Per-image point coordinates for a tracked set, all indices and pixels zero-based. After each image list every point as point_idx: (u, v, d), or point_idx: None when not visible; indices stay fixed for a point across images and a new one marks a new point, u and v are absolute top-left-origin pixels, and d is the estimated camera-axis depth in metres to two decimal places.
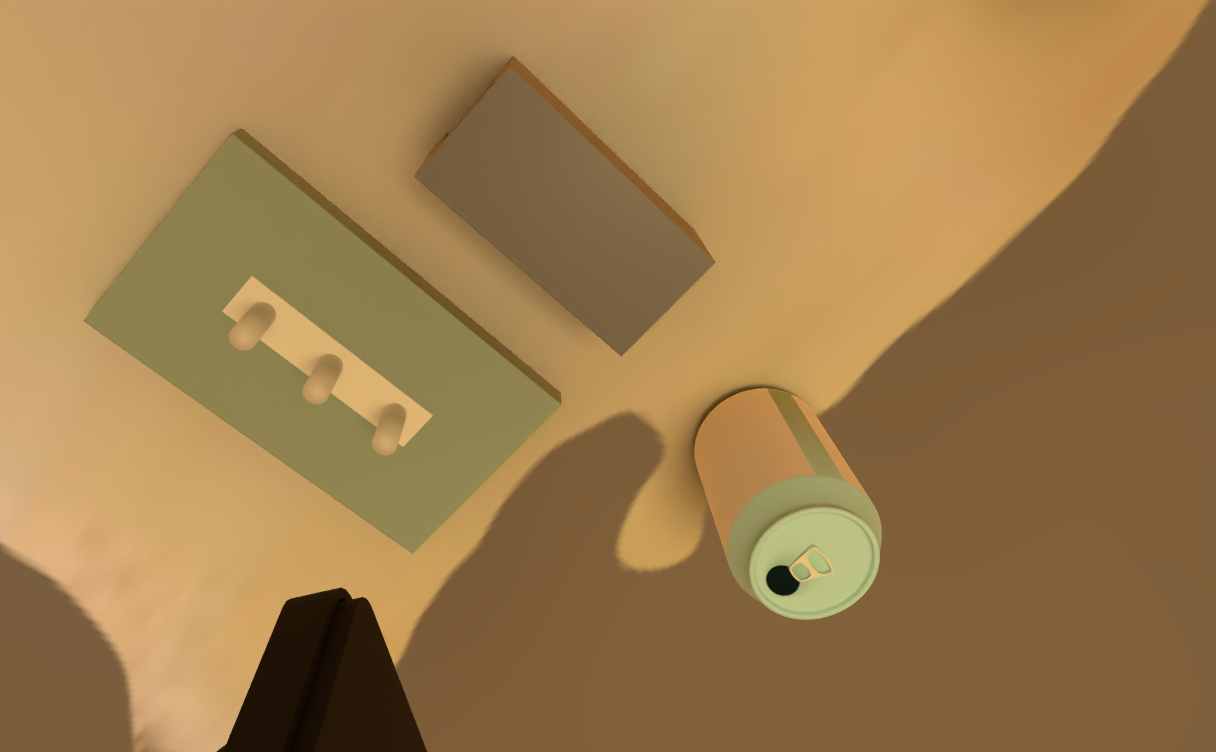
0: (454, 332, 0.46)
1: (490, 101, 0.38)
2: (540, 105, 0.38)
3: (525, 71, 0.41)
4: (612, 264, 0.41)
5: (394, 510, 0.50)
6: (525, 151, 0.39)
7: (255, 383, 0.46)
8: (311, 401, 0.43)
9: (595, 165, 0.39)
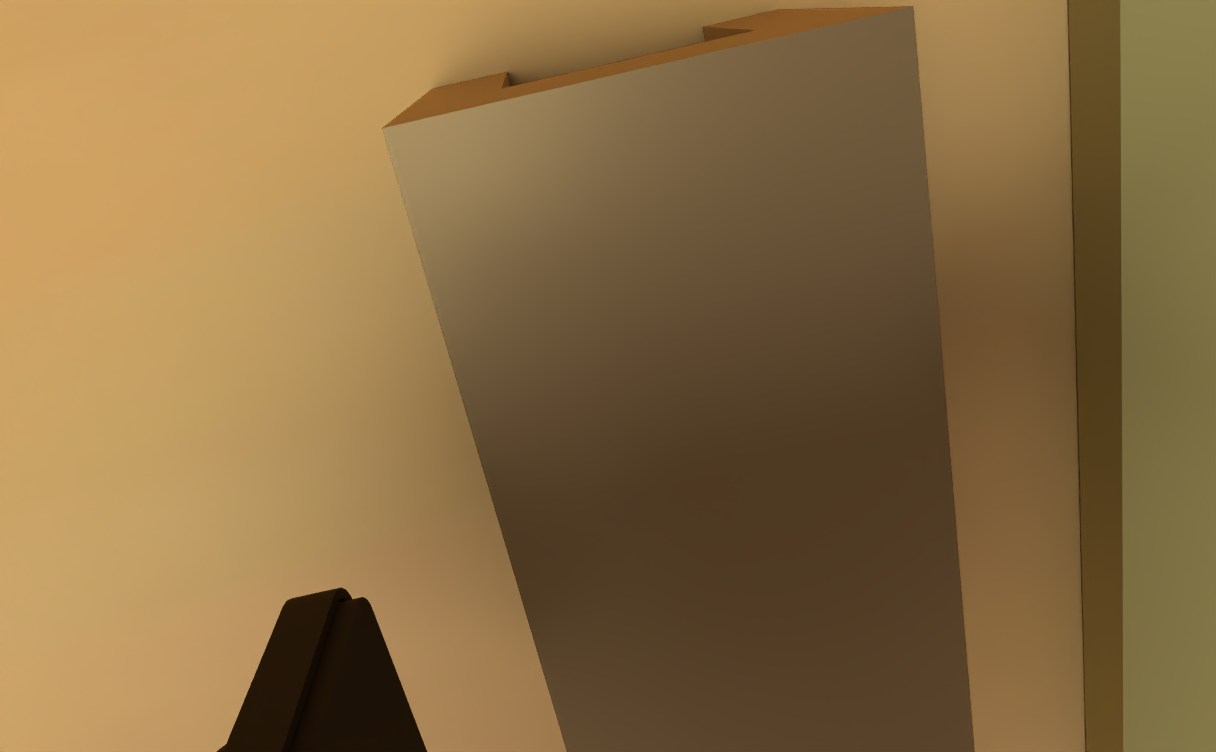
0: (1156, 270, 0.16)
1: None
2: None
3: None
4: (711, 339, 0.11)
5: None
6: (708, 731, 0.14)
7: None
8: None
9: (567, 618, 0.13)
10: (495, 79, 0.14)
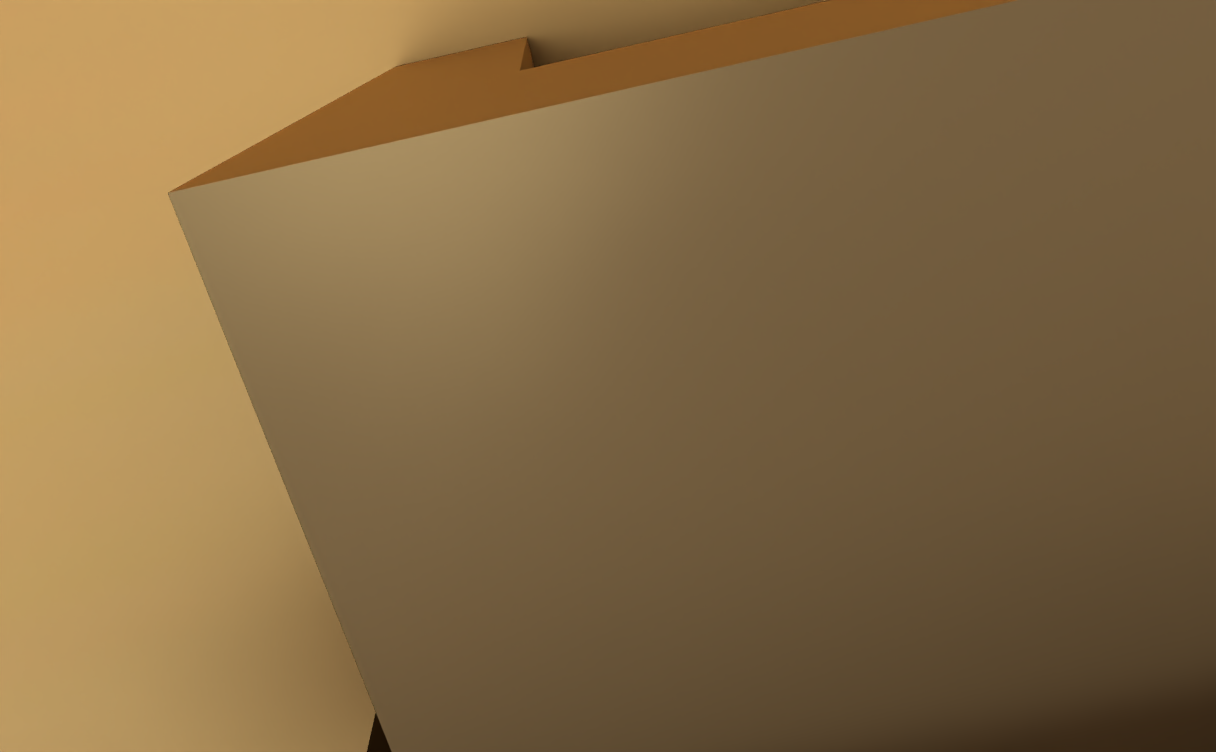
0: None
1: None
2: None
3: None
4: (1029, 694, 0.05)
5: None
6: None
7: None
8: None
9: None
10: (506, 50, 0.07)
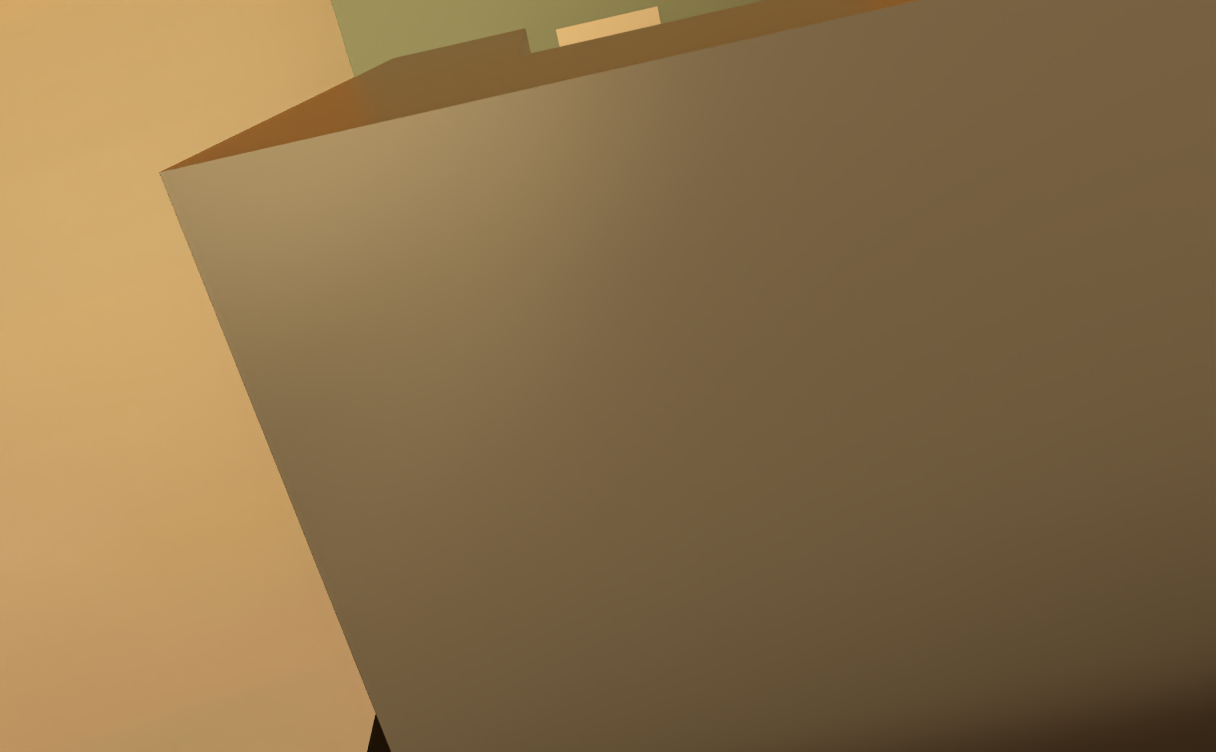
0: None
1: None
2: None
3: None
4: (1031, 684, 0.05)
5: None
6: None
7: None
8: None
9: None
10: (504, 40, 0.07)
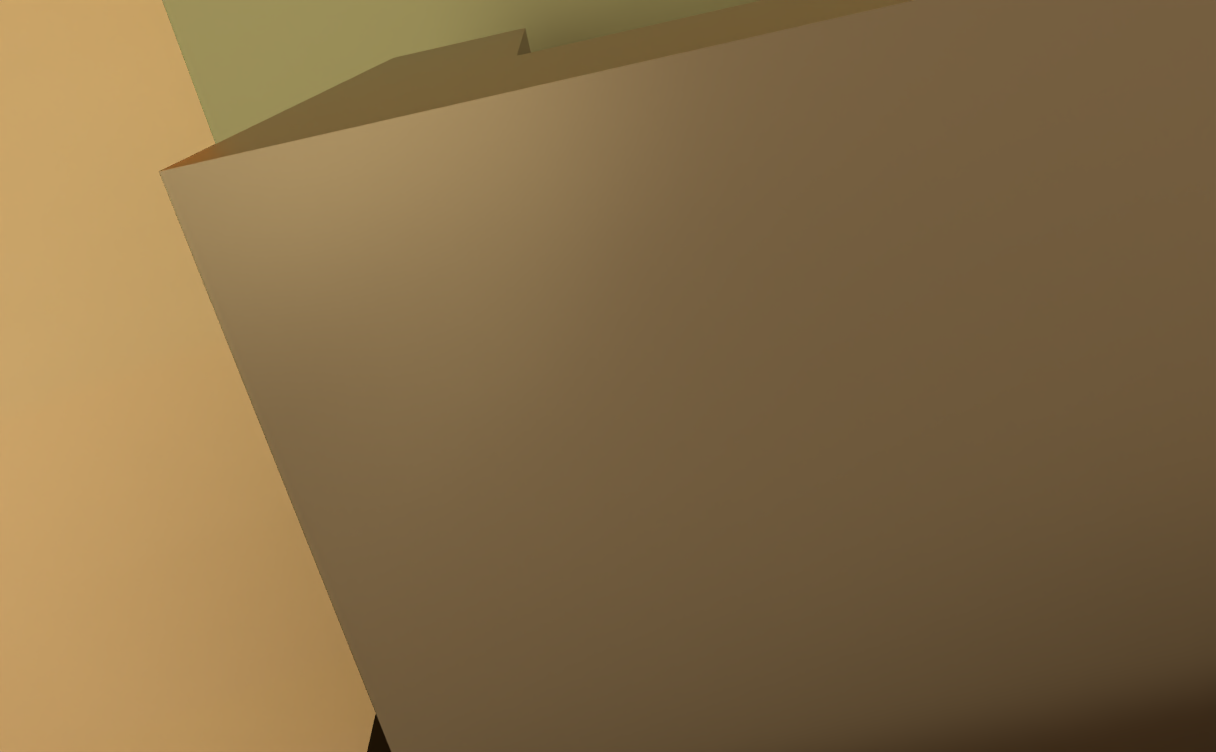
0: None
1: None
2: None
3: None
4: (1031, 682, 0.05)
5: None
6: None
7: None
8: None
9: None
10: (504, 39, 0.07)
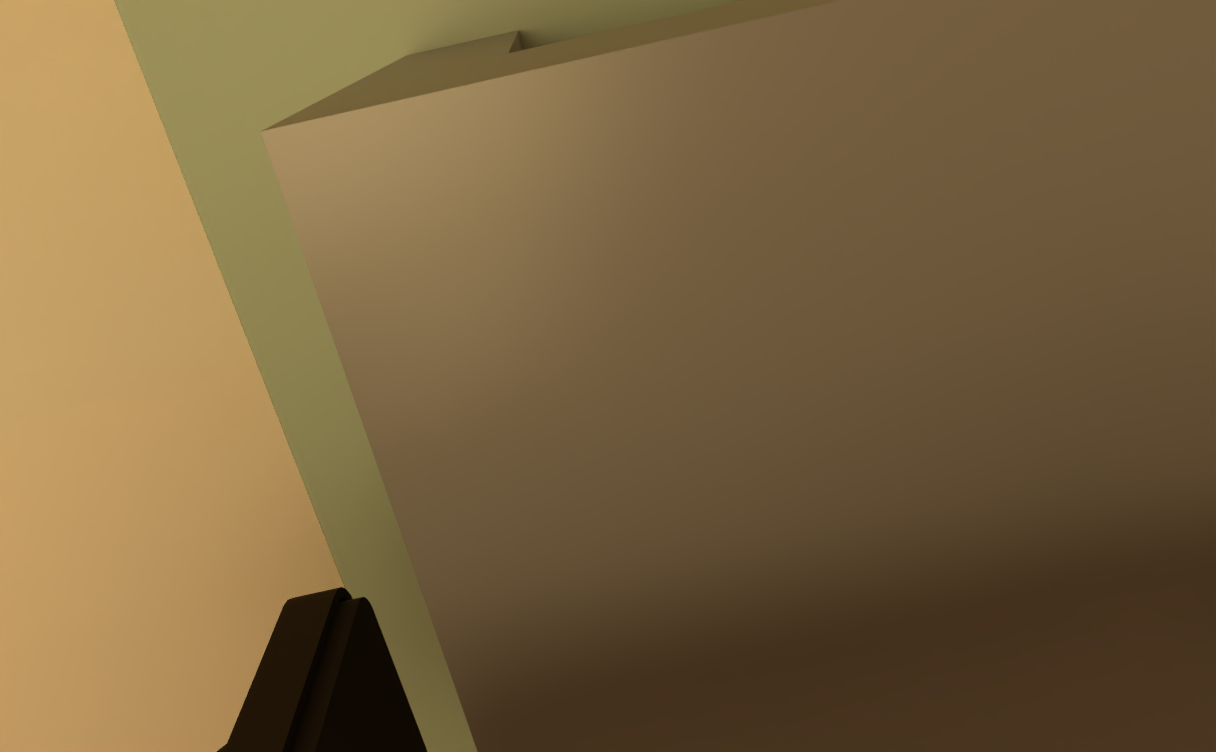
0: (290, 311, 0.12)
1: None
2: None
3: None
4: (889, 522, 0.06)
5: None
6: None
7: None
8: None
9: None
10: (500, 40, 0.09)
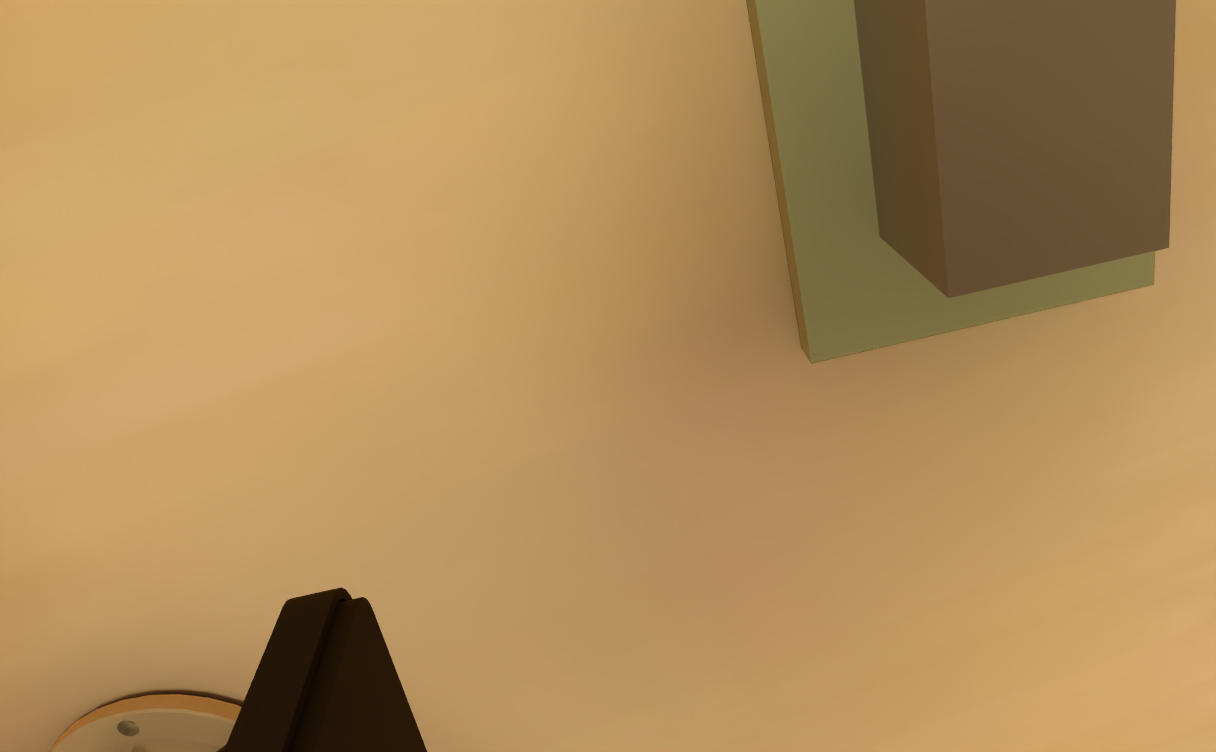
0: None
1: (1005, 274, 0.25)
2: (954, 230, 0.25)
3: (897, 232, 0.29)
4: None
5: None
6: (1020, 185, 0.24)
7: None
8: None
9: (954, 103, 0.23)
10: None
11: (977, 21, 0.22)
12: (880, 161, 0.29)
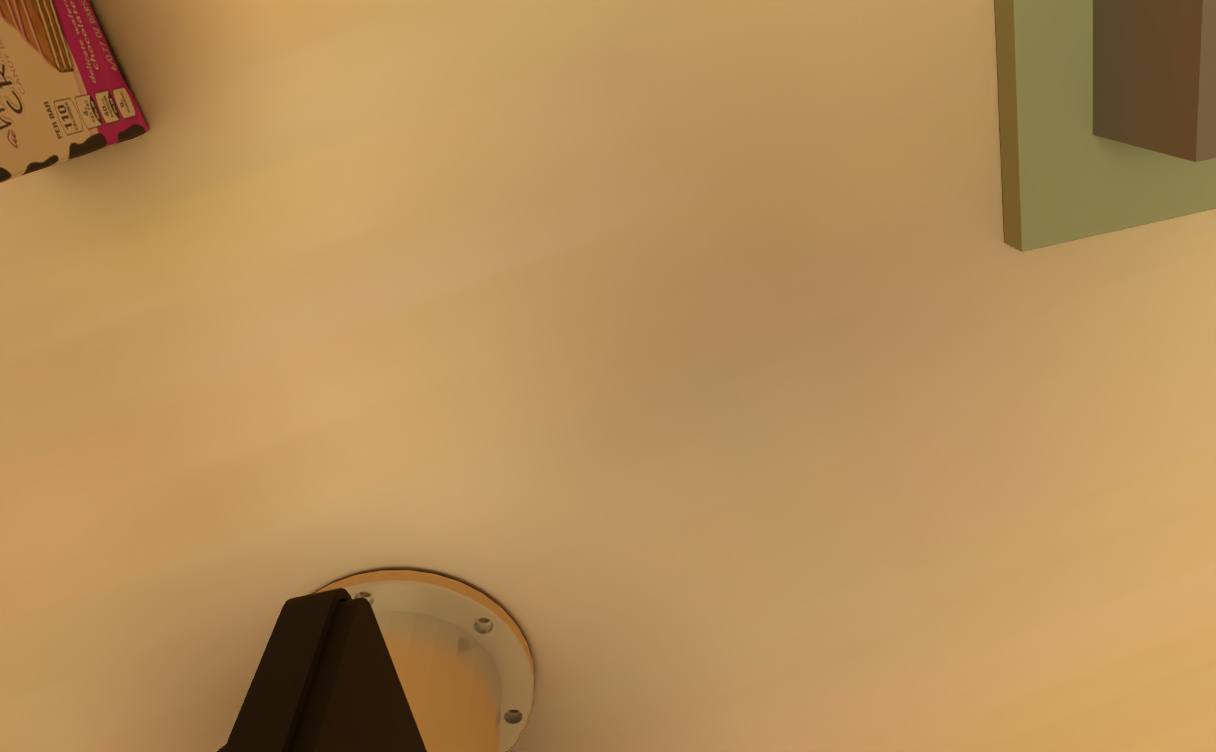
0: None
1: None
2: (1208, 100, 0.29)
3: (1124, 122, 0.33)
4: None
5: None
6: None
7: None
8: None
9: None
10: None
11: None
12: (1107, 61, 0.33)
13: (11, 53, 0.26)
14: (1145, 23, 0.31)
